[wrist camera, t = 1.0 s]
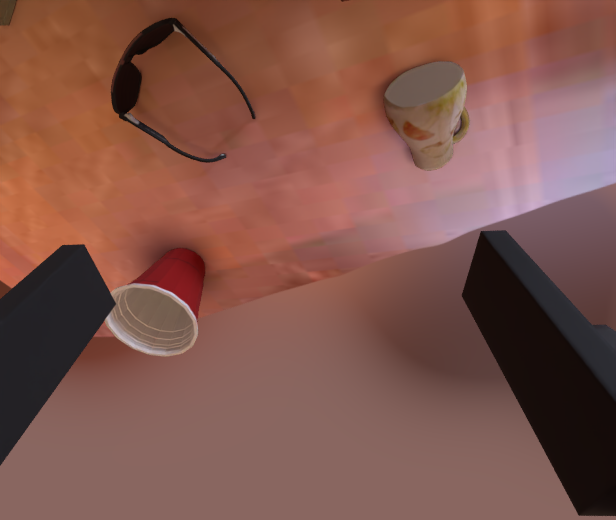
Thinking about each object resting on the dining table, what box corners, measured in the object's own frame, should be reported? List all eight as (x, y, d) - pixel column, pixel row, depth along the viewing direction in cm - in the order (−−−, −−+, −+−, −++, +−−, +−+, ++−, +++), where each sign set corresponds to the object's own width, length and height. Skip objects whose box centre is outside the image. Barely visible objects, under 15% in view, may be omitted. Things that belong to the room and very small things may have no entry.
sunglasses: (164, -2, 29) (148, 1, 25) (270, 95, 35) (269, 109, 31) (115, 94, 34) (95, 109, 30) (215, 166, 40) (209, 185, 36)
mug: (403, 177, 39) (390, 175, 30) (390, 91, 37) (373, 62, 28) (473, 162, 36) (482, 155, 27) (463, 68, 34) (469, 27, 25)
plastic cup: (187, 217, 42) (149, 274, 32) (237, 275, 48) (217, 339, 38) (127, 250, 45) (76, 311, 36) (180, 301, 51) (148, 366, 41)
